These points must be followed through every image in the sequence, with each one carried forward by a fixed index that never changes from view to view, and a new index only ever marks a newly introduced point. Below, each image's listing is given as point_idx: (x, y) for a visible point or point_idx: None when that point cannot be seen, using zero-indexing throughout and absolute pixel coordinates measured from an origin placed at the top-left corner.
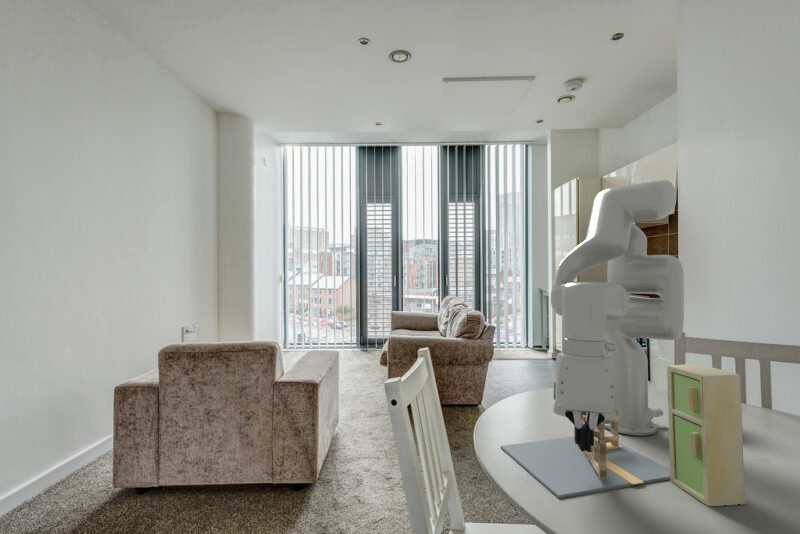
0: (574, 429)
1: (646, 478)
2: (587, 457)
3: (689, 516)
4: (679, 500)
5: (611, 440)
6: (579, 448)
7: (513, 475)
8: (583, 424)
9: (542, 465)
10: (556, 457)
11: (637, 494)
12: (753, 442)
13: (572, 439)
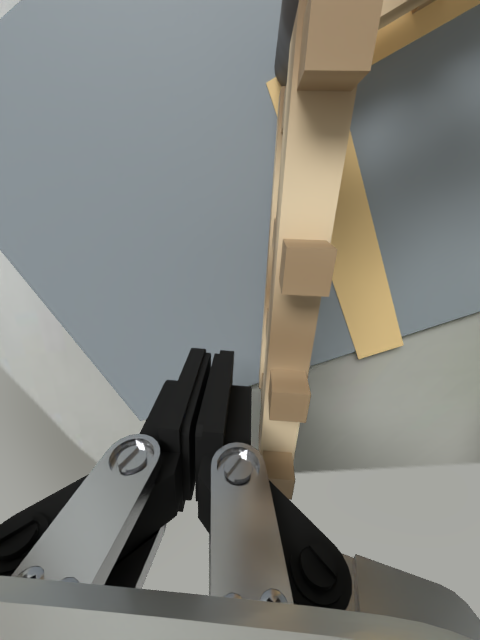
0: (145, 423)
1: (432, 317)
2: None
3: (413, 442)
4: (446, 393)
5: None
6: (274, 67)
7: (24, 335)
8: (287, 120)
9: (95, 282)
10: (146, 203)
11: (346, 381)
12: None
13: None
